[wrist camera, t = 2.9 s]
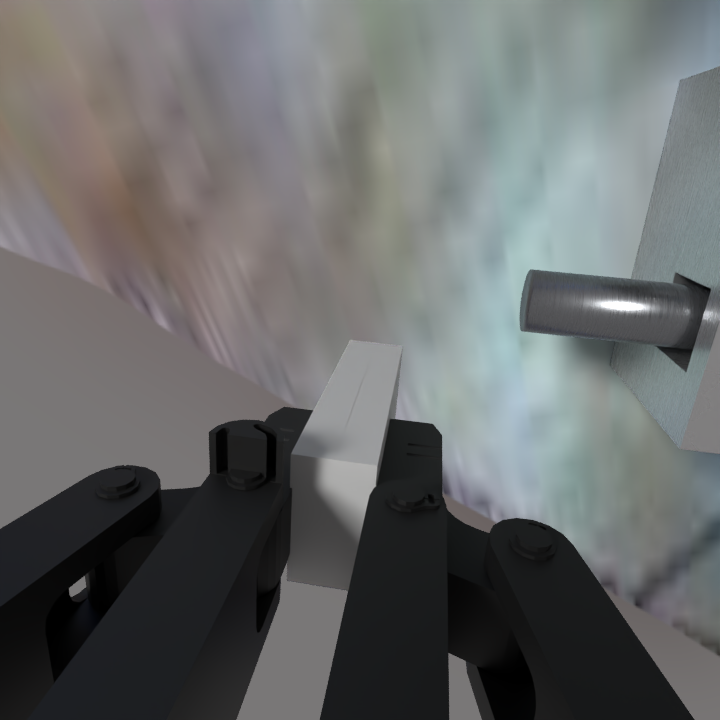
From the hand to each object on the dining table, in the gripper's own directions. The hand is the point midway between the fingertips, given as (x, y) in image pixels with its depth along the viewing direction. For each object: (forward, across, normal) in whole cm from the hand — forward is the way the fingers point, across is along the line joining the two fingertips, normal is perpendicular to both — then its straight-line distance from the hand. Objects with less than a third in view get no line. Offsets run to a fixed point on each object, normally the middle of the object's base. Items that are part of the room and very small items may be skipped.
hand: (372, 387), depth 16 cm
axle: (+14, +14, 0) cm, 20 cm away
